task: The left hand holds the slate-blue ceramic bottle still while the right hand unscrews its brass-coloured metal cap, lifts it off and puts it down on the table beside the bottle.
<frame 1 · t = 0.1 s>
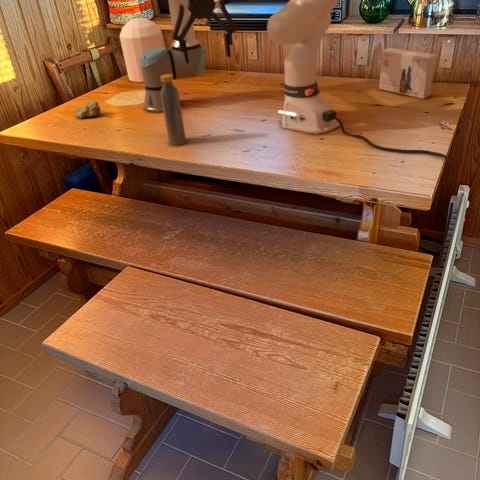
left hand: (207, 59, 147), 28 cm above the table, tool pointing down, fingers open, 13 cm apart
cap: (166, 76, 153), point 23 cm above the table, screwed on, not yet turned
container: (148, 76, 243), on the table
bottle: (177, 142, 166), on the table
skincare box: (403, 93, 189), on the table
rock: (89, 115, 199), on the table
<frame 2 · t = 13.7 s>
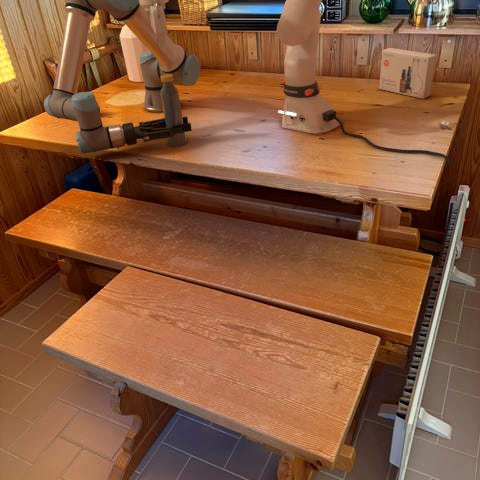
left hand: (189, 123, 163), 6 cm above the table, tool horizontal, fingers closed on bottle, 6 cm apart
right hand: (161, 45, 147), 33 cm above the table, tool pointing down, fingers open, 6 cm apart
bottle: (177, 142, 166), on the table, touching left hand
everything else where it was.
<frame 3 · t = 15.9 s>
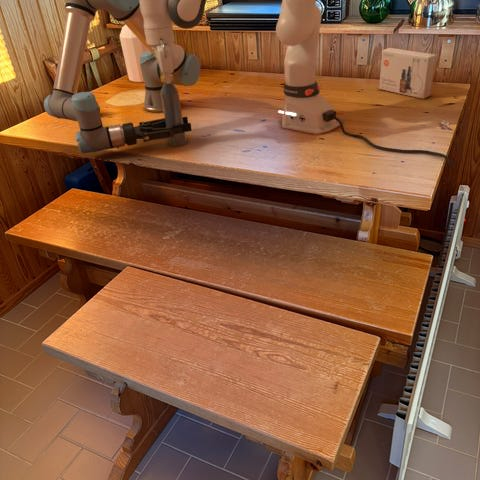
left hand: (189, 123, 163), 6 cm above the table, tool horizontal, fingers closed on bottle, 6 cm apart
right hand: (167, 80, 153), 22 cm above the table, tool pointing down, fingers closed on cap, 4 cm apart
cap: (166, 76, 152), point 23 cm above the table, screwed on, not yet turned, touching right hand
bottle: (177, 142, 166), on the table, touching left hand
everything else where it was.
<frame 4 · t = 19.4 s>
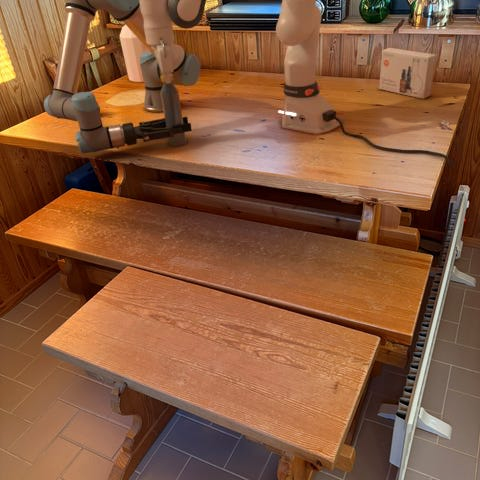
left hand: (189, 123, 163), 6 cm above the table, tool horizontal, fingers closed on bottle, 6 cm apart
right hand: (167, 80, 153), 22 cm above the table, tool pointing down, fingers closed on cap, 4 cm apart
cap: (166, 76, 152), point 23 cm above the table, turned 92° so far, risen 0.1 cm, still on its thread, touching right hand
bottle: (177, 142, 166), on the table, touching left hand
everything else where it was.
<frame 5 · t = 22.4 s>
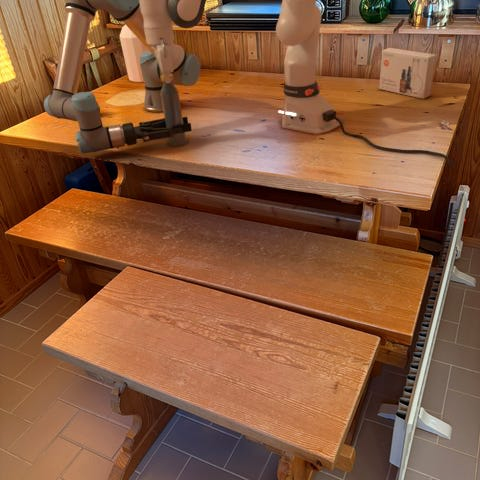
left hand: (189, 123, 163), 6 cm above the table, tool horizontal, fingers closed on bottle, 6 cm apart
right hand: (167, 80, 153), 22 cm above the table, tool pointing down, fingers closed on cap, 4 cm apart
cap: (166, 76, 152), point 23 cm above the table, turned 184° so far, risen 0.2 cm, still on its thread, touching right hand
bottle: (177, 142, 166), on the table, touching left hand
everything else where it was.
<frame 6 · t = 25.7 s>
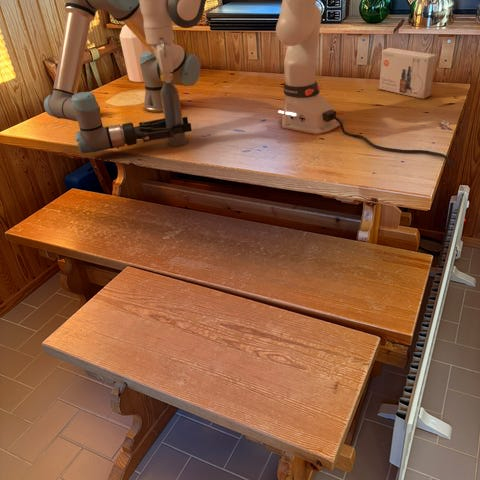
left hand: (189, 123, 163), 6 cm above the table, tool horizontal, fingers closed on bottle, 6 cm apart
right hand: (167, 80, 153), 22 cm above the table, tool pointing down, fingers closed on cap, 4 cm apart
cap: (166, 75, 152), point 23 cm above the table, turned 276° so far, risen 0.2 cm, still on its thread, touching right hand
bottle: (177, 142, 166), on the table, touching left hand
everything else where it was.
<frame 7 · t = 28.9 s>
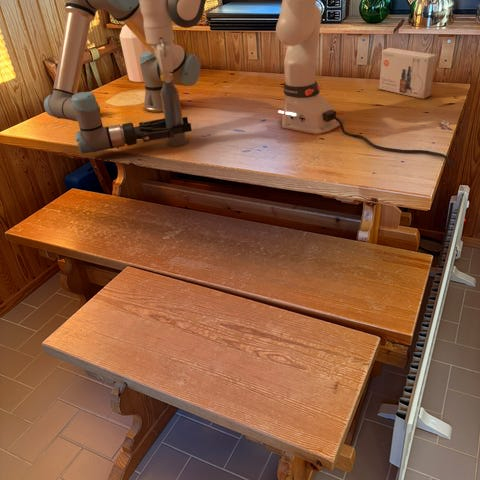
left hand: (189, 123, 163), 6 cm above the table, tool horizontal, fingers closed on bottle, 6 cm apart
right hand: (167, 80, 153), 22 cm above the table, tool pointing down, fingers closed on cap, 4 cm apart
cap: (166, 75, 152), point 23 cm above the table, turned 368° so far, risen 0.3 cm, still on its thread, touching right hand
bottle: (177, 142, 166), on the table, touching left hand
everything else where it was.
when the right hand's fingers open (2 cm above the table, at t = 37.0 s): cap drops 2 cm, point 1 cm above the table.
when the left hand's fingers open (6 cm above the table, at t = 38.0 s): bottle stays where it is, on the table.
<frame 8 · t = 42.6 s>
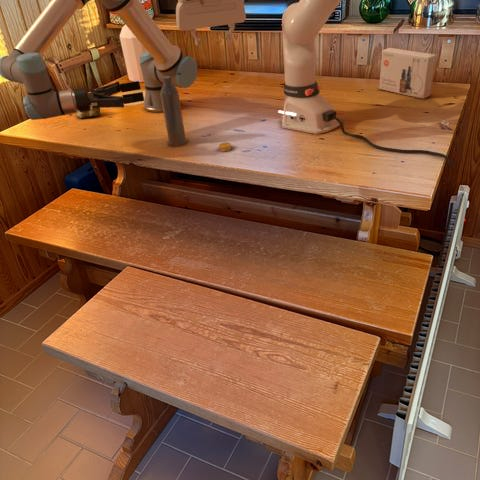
left hand: (141, 90, 153), 20 cm above the table, tool horizontal, fingers open, 13 cm apart
right hand: (213, 42, 138), 34 cm above the table, tool pointing down, fingers open, 8 cm apart
cap: (225, 145, 157), point 1 cm above the table, off its thread
bottle: (177, 142, 166), on the table
everything else where it was.
at the end: cap came off its thread; cap point 1.2 cm above the table; the left hand is holding nothing; the right hand is holding nothing; bottle tilted 0°; bottle moved 0.1 cm from its start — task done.
